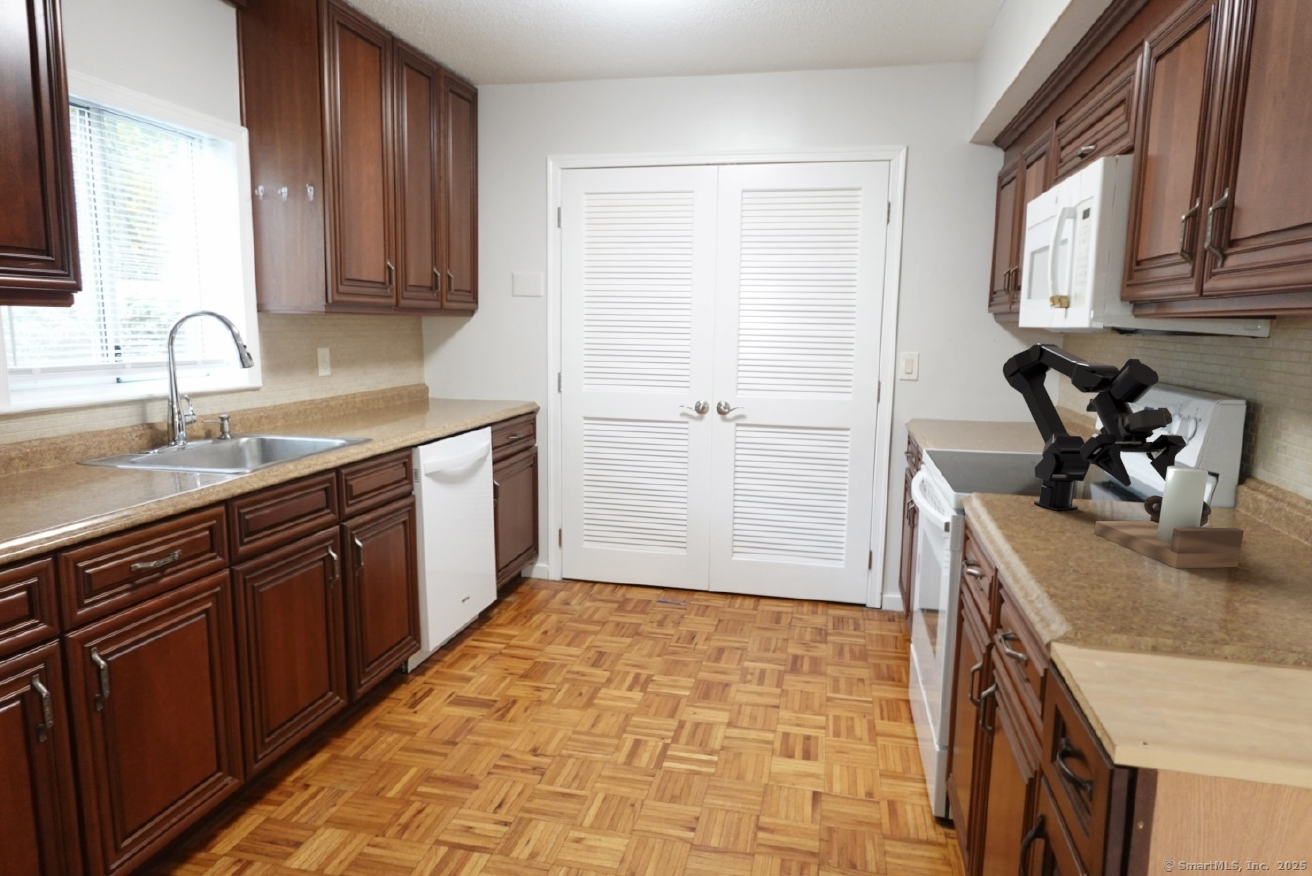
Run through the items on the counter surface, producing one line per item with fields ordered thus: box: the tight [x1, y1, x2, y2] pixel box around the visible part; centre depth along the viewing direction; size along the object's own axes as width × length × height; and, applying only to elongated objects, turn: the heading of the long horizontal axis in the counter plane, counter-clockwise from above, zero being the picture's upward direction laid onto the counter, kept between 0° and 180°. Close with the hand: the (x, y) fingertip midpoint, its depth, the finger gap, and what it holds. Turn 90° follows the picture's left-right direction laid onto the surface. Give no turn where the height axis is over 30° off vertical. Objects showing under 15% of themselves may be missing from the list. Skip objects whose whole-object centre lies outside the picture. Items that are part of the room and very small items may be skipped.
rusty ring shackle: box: [1143, 494, 1212, 528], centre depth 162 cm, size 12×10×8 cm
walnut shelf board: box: [1093, 520, 1245, 569], centre depth 144 cm, size 20×12×6 cm, turn 8°
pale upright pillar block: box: [1157, 465, 1209, 544], centre depth 140 cm, size 6×6×13 cm
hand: (1151, 485), depth 148 cm, fingers open, 9 cm apart
